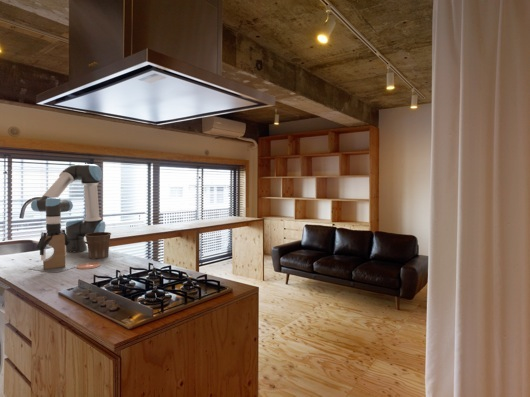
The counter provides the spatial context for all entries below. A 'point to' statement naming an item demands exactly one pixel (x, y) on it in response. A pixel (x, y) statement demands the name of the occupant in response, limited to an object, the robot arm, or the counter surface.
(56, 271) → the tile
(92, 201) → the robot arm
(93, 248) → the plant pot
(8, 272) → the counter surface
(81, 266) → the coaster
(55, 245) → the decorative block
